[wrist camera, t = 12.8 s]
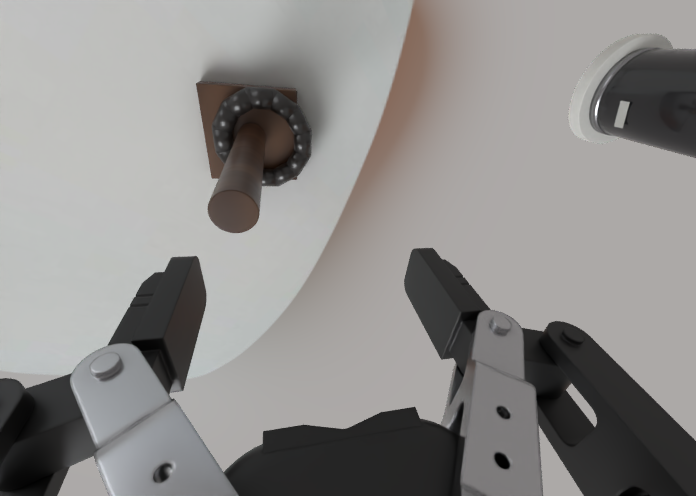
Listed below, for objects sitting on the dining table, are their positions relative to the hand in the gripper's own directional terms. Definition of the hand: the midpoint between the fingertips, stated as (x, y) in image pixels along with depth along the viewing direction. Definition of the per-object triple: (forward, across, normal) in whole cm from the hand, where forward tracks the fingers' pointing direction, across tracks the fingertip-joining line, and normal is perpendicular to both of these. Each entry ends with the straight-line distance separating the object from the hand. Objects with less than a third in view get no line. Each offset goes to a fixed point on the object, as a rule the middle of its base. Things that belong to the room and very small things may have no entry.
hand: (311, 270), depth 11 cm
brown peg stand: (+21, +3, 0) cm, 22 cm away
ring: (+19, +2, 0) cm, 19 cm away
